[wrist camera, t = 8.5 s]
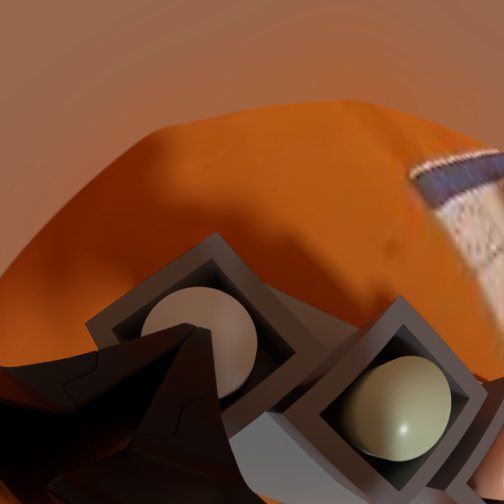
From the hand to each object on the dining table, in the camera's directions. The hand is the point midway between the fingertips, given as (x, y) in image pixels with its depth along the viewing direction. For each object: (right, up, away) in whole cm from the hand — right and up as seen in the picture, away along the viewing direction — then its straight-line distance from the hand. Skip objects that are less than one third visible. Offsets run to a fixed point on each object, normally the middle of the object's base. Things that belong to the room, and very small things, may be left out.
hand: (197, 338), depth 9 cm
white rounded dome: (0, -2, +4) cm, 4 cm away
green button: (+7, -5, +3) cm, 8 cm away
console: (+6, -7, +6) cm, 11 cm away
